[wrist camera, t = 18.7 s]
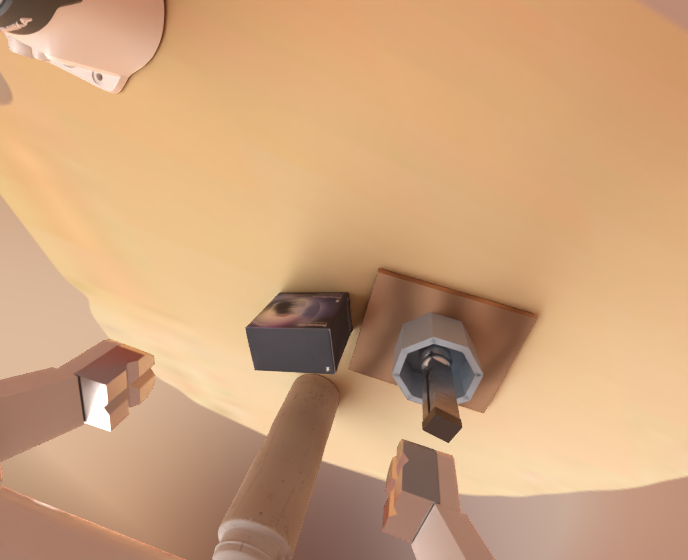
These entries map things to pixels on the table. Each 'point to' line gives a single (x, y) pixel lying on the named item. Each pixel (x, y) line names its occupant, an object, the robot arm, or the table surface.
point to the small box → (301, 333)
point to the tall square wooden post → (438, 393)
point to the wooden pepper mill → (281, 477)
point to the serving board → (422, 298)
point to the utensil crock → (443, 334)
